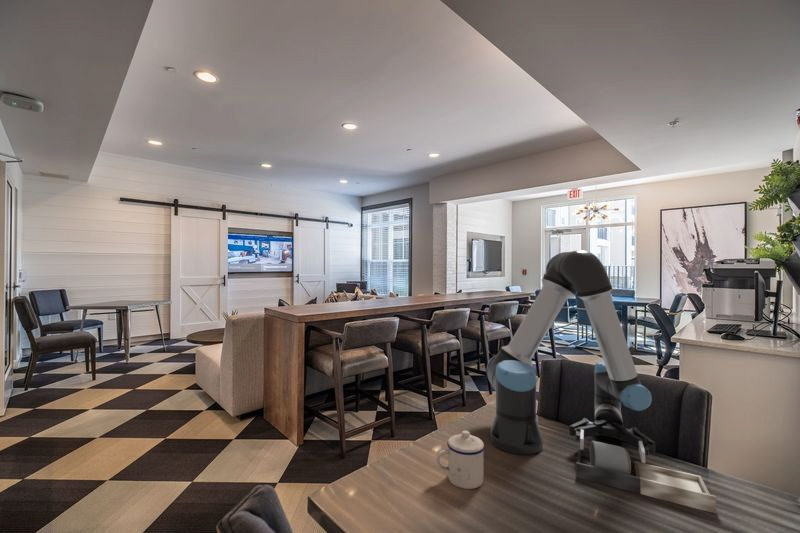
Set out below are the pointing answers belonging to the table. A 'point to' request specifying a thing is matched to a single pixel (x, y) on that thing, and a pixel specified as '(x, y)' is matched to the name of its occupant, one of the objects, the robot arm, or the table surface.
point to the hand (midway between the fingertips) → (611, 450)
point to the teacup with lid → (464, 460)
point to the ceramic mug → (610, 457)
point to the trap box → (653, 483)
